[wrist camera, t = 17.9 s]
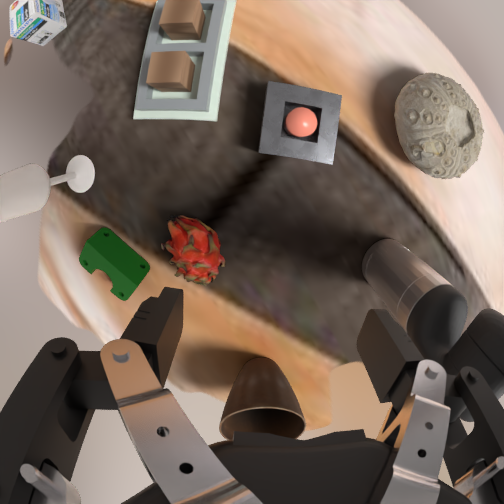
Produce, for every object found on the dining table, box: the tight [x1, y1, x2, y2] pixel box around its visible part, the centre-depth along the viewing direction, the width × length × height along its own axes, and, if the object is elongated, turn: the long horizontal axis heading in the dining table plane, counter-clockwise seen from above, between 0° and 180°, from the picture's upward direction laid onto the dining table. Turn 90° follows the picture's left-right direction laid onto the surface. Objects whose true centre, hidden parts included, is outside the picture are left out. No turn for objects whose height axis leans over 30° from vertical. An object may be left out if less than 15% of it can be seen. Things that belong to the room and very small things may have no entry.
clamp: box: [79, 228, 150, 301], centre depth 43 cm, size 12×6×9 cm, turn 41°
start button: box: [283, 107, 317, 137], centre depth 34 cm, size 4×4×4 cm
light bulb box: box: [10, 0, 67, 46], centre depth 21 cm, size 11×7×11 cm, turn 22°
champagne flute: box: [0, 155, 95, 223], centre depth 28 cm, size 7×7×24 cm
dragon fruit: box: [161, 215, 226, 286], centre depth 41 cm, size 8×8×12 cm
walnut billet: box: [159, 0, 206, 40], centre depth 27 cm, size 4×4×7 cm
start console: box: [258, 81, 342, 164], centre depth 35 cm, size 10×10×5 cm
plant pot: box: [219, 358, 306, 440], centre depth 47 cm, size 15×15×16 cm
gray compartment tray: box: [133, 0, 236, 122], centre depth 31 cm, size 13×22×4 cm, turn 173°
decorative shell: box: [394, 73, 484, 179], centre depth 32 cm, size 18×18×10 cm
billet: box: [146, 51, 195, 92], centre depth 30 cm, size 4×4×7 cm
